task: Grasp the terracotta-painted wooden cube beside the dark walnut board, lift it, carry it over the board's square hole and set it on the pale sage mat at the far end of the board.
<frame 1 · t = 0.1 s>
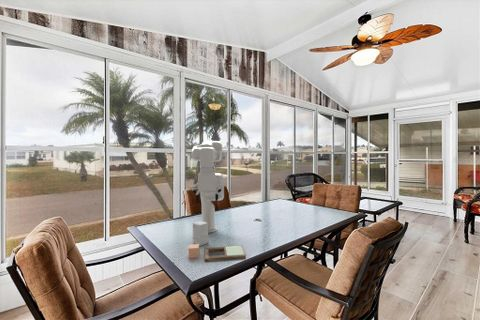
hand: (207, 201, 121), 31 cm above the table, tool pointing down, fingers open, 9 cm apart
small box: (200, 243, 143), on the table
terracotta cube: (194, 255, 124), on the table
hole board: (224, 254, 126), on the table
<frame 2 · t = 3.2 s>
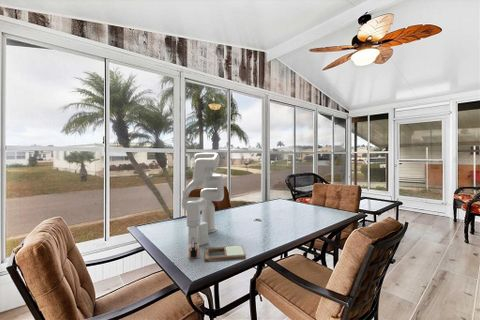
hand: (194, 254, 124), 1 cm above the table, tool pointing down, fingers closed on terracotta cube, 5 cm apart
terracotta cube: (194, 255, 124), on the table, touching gripper
everything else where it was.
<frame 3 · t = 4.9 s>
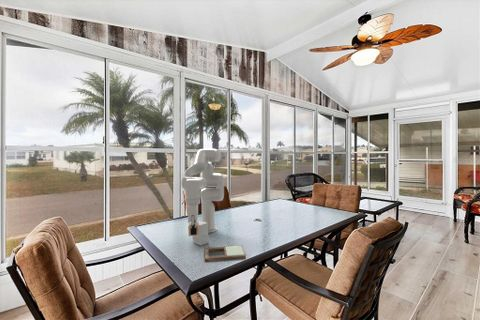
hand: (194, 232, 125), 13 cm above the table, tool pointing down, fingers closed on terracotta cube, 5 cm apart
terracotta cube: (194, 233, 125), point 12 cm above the table, touching gripper
everything else where it was.
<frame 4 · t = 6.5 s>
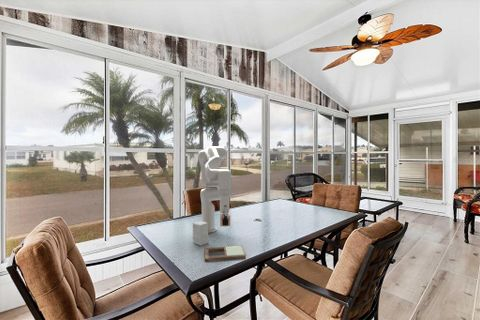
hand: (225, 223, 126), 18 cm above the table, tool pointing down, fingers closed on terracotta cube, 5 cm apart
terracotta cube: (225, 224, 126), point 17 cm above the table, touching gripper
everything else where it was.
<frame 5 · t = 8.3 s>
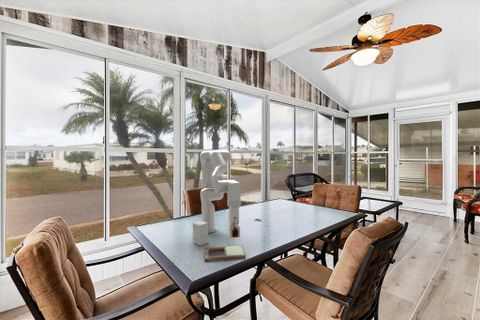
hand: (234, 234, 126), 11 cm above the table, tool pointing down, fingers closed on terracotta cube, 5 cm apart
terracotta cube: (234, 236, 126), point 10 cm above the table, touching gripper
everything else where it was.
when the fingers open (4 cm above the table, at t = 10.0 s): terracotta cube drops 1 cm, resting on hole board.
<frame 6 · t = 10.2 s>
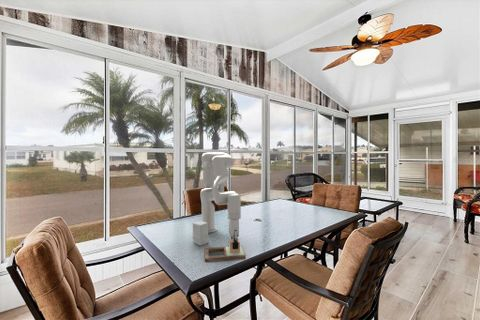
hand: (234, 245, 126), 4 cm above the table, tool pointing down, fingers open, 7 cm apart
terracotta cube: (234, 250, 127), point 2 cm above the table, touching hole board
everything else where it was.
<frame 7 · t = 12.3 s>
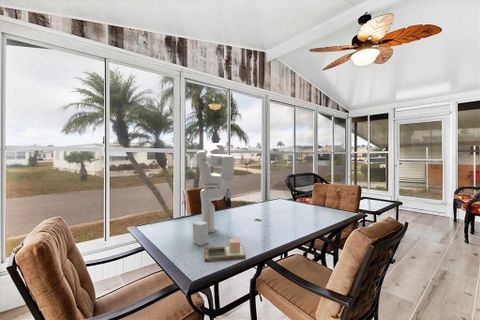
hand: (227, 204, 132), 27 cm above the table, tool pointing down, fingers open, 9 cm apart
nothing on the table moved.
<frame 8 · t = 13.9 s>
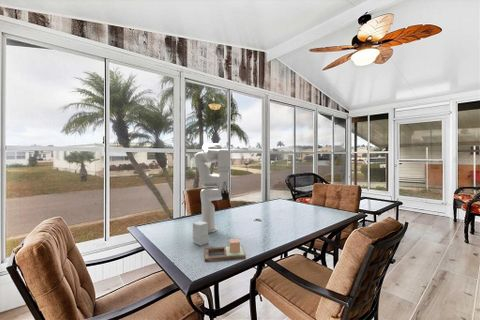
hand: (224, 197, 134), 30 cm above the table, tool pointing down, fingers open, 9 cm apart
nothing on the table moved.
at the end: terracotta cube inside the target area (0.1 cm from its centre), point 1.8 cm above the table; terracotta cube tilted 0°; the gripper is holding nothing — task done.
